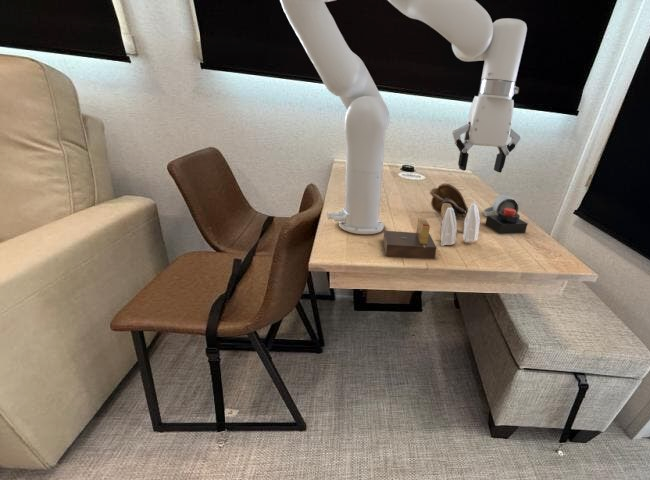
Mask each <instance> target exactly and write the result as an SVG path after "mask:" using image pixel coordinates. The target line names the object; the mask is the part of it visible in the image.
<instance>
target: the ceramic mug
mask: <svg viewBox="0 0 650 480" xmlns="http://www.w3.org/2000/svg"><path fill="white" fill-rule="evenodd" d="M505 208H511V209H514V210H516V213H517V214H519V211H520V205H519V202H518V201H517V200H516V199H514V198H513V197H512V196H510V195H507V194H502V195H499V196H498V197H496V198H495V199H494V201H493V204H492V206H489V207H487V208H485V209H484V210H483V215H484V216H485V217H487V216H488V215H498V212H499V211H504V209H505Z"/></svg>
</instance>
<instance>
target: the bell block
mask: <svg viewBox="0 0 650 480" xmlns="http://www.w3.org/2000/svg"><path fill="white" fill-rule="evenodd" d="M503 212H504V211H499V212H498V215H488V216H486V219H485V224H484V226H486V227H487V228H489V229H491V230H493V231H494V232H496V233H497V234H499V235H506V234H507V235H508V234H526V231H527V228H528V225H529V223H528V222H526V221H524V220H522V219H520V217H521V216H520V214H519V213H515V216H508V215H505V214H503Z"/></svg>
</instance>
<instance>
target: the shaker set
mask: <svg viewBox="0 0 650 480" xmlns="http://www.w3.org/2000/svg"><path fill="white" fill-rule="evenodd" d="M469 206H470V207H468V213H467V215H466V218H464V223H463V230H464V232H462V233H463V235H462V239H463V242H465V243H466V244H467V245H470V244H473V243H475V242H476V241H477V240H478V239H479V232H480V224H481V223H480V221H481V220H480V219H481V218H480V212H479V208H478V204H477V203H476V202H473V203H471V204H470V205H469ZM442 220H443V221H442V222H441V223H442V228H441V227H440V240H441V241H440V246H442V247H444V246H446V245H447V246H451V245H455V244H456V241H457V229H458V224H457V217H455V213H454V210H453V208H452V207H451V208H448V209H447V211H446V213H445V216H444V219H442Z"/></svg>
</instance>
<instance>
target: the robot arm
mask: <svg viewBox="0 0 650 480" xmlns="http://www.w3.org/2000/svg"><path fill="white" fill-rule="evenodd" d="M335 1H336V0H279V3H280V4H281V8H282V9H283V12H284V14H285V16H286V18H287V20H288V22H289V25H290V26H291V27H292V30H293V31H294V33H295V35H296V36H297V38H298V40H299V42H300V43H301V45H302V48H303V49H304V51H305V53H306V54H307V56H308V58H309V60H310V62H311V63H312V64H313V67H314V68H315V70H316V72H317V73H318V75H319V77H320V79H321V80H322V81H321V82H322V83H323V85H324V87H325V88H326V89H327V90H328V92H329V93H331V94H332V95H334V96H336V97H339V99H340V100H341V103H342V105H344V108H345V109H346V112H345V116H344V137H345V187H344V207H342V208H341V210H339V211H337V212H335V211H327V214H326V215H327V220H333V222H338V226H339V228H340V229H342V230H343V231H345V232H347V233H350V234H356V235H375V234H379V233H381V232H382V231H384V227H385V224H384V223H383V221H381V219H380V210H381V209H380V208H381V197H382V196H381V195H382V183H383V172H384V171H383V170H384V157H385V156H384V155H385V138H386V131H387V130H388V127H389V124H390V112H389V109H388V107H387V104H386V103H385V100H384V99H383V96H382V95H381V93H380V91H379V89H378V87H377V85H376V83H375V81H374V79H373V77H372V76H371V74H370V72H369V70H368V68H367V67H366V65H365V62H364V61H363V60H362V59H361V58H360V56H358V55H357V54H356V53H355V52H353V51H352V50H351V48H350V47H349V45H348V43H347V41H346V40H345V37H344V36H343V34H342V33H341V31H340V29H339V27H338V25H337V23H336V21H335V19H334V17H333V15H332V14H331V12H330V10H329V8H328V7H327V4H326V3H328V2H329V3H330V2H335ZM386 1H387V2H389V3H390V4H391V5H392V6H393V7H394V8H395V9H397V10H398V11H399V12H400V13H402V14H403V15H405V16H406V17H408V18H409V19H413V20H418V21H420V22H422V23H424V24H426V25H428V26H429V27H430V28H431V29H433V30H434V31H436V32H437V33H439V34H440V35H441V36H442V37H443V38H445V39H446V40H447V41H448V42H449V43H450V44H451V50H452V52H453V54H454V56H455V57H456V58H457V59H459V60H460V61H462V62H479V61H484V63H483V68H482V73H481V78H480V83H479V90H478V95H474V97H473V99H472V102H471V105H470V108H469V111H468V116H467V120H466V123H465V125H462V126H460V127H458V128H456V129H454V130H453V131H452V138H453V140H454V144H455V146H456V147H457V149H458V151H459V155H458V156H459V157H458V162H457V166H458V169H459V170H461V171H463V172H464V171H467V166H468V161H469V155H470V154H469V153H468V151H469V150H470V149H471V148H472V147H473V146H481V147H482V146H483V147H495V148H497V149H498V153H497V154H496V157H495V161H494V166H493V171H495V172H497V173H502V171H503V169H504V167H505V162H506V158H507V156H509V155H510V153H511V152H512V151H513V150H515V148H516V146H517V145H518V144H519V142H520V140H521V135H519V134H518V133H517V132H515V130H513V129H512V124H513V118H514V105H515V102H514V101H515V100H514V99H513V97H514V95H518V94H519V92H520V87H518V86H516V84H517V83H516V82H517V77H518V72H519V67H520V64H521V59H522V55H523V50H524V46H525V42H526V37H527V32H528V27H527V23H526V21H523V20H522V19H519V18H510V17H509V18H508V17H507V18H499V19H496V20H495V21H494V22H493V21H492V18H491V15H490V14H489V13H488V11H487V10H486V9H485V8H484V7H483V6H482V5H481V4H480V3H479V2H478V1H476V0H386ZM461 135H463V140H464V141H462V140H461ZM510 138H511V140H510V142H509V139H510ZM508 142H509V143H508Z"/></svg>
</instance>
